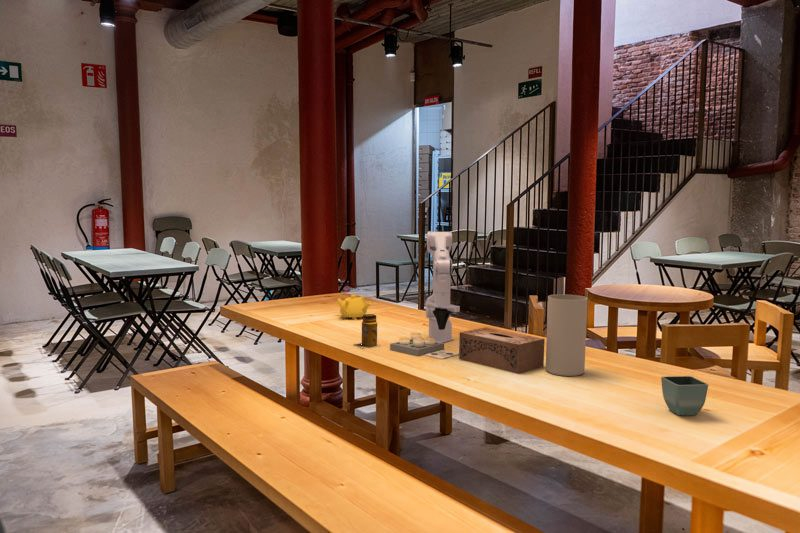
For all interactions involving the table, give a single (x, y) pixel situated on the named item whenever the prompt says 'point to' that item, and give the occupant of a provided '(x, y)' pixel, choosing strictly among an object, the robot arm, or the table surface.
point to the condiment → (369, 331)
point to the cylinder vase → (566, 335)
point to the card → (442, 354)
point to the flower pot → (684, 394)
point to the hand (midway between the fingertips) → (441, 329)
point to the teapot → (353, 307)
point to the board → (416, 351)
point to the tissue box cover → (502, 349)
